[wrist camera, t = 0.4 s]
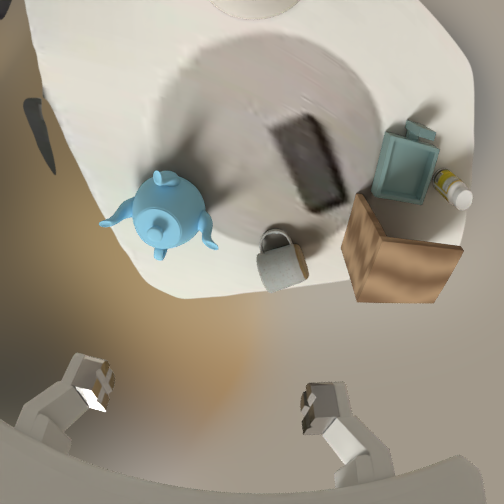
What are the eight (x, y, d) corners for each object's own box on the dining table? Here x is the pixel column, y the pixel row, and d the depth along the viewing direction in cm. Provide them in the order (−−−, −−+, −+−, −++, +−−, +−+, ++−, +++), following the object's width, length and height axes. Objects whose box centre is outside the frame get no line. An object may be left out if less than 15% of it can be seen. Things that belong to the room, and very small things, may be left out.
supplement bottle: (451, 187, 44) (473, 210, 37) (432, 192, 45) (453, 215, 38) (450, 165, 41) (475, 185, 34) (431, 170, 42) (454, 191, 35)
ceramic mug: (308, 262, 56) (312, 289, 50) (270, 274, 59) (270, 301, 53) (290, 220, 51) (293, 244, 45) (249, 234, 53) (246, 260, 47)
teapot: (167, 247, 56) (152, 282, 48) (118, 191, 48) (93, 221, 40) (227, 214, 51) (219, 249, 43) (176, 147, 43) (155, 171, 35)
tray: (388, 114, 37) (401, 121, 33) (437, 129, 37) (452, 138, 33) (370, 190, 46) (379, 204, 42) (416, 198, 46) (428, 212, 42)
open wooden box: (356, 193, 46) (382, 241, 35) (428, 205, 47) (463, 250, 35) (340, 247, 54) (357, 302, 43) (408, 254, 54) (433, 303, 43)
